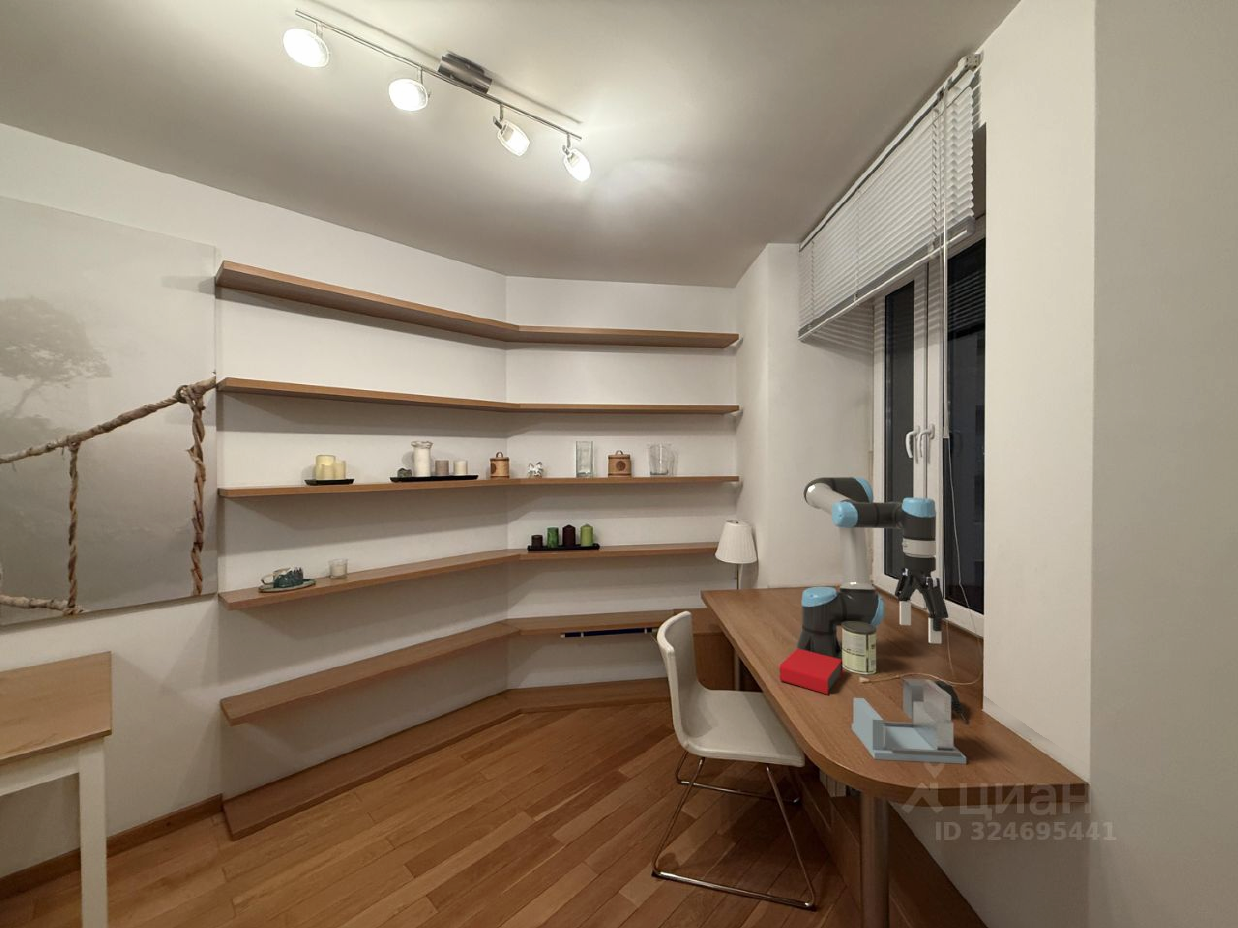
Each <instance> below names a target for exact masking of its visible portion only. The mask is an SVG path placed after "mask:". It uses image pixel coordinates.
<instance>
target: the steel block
mask: <svg viewBox="0 0 1238 928" xmlns="http://www.w3.org/2000/svg"><path fill="white" fill-rule="evenodd" d="M902 682H903V683H902V687H903V688H902V691H903V694H902V699H903V700H902V710H903V711H902V712H903V713H904V714H905V715H906V716H908V718H910V720H913V701H914V702H924V678H923V679H920V678H919V679H918V678H903V680H902Z"/></svg>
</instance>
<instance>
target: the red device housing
mask: <svg viewBox="0 0 1238 928" xmlns="http://www.w3.org/2000/svg"><path fill="white" fill-rule="evenodd" d="M843 669H844V667H843V660H842V659H837V658H833V657H829V656H825V655H821V654H817V653H813V652H809V651H805V650H801V649H797V648H795V650H794V651H793V652H792V653H791V654H790V655H789V656H788V657H787V658H786V659H785V660H783V662H781V663H780V665H779V681H781V682H785V683H788V684H791V685H794V686H798V687H801V688H804V689H808V690H811V691H814V692H818V693H821V694H824V695H828V696H829V690H830V689H831V688H832V686H833V685H834V683H835V682H836V681H837V680H840V679H841V677H842V676H843V672H844V671H843Z"/></svg>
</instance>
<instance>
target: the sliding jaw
mask: <svg viewBox="0 0 1238 928" xmlns="http://www.w3.org/2000/svg"><path fill="white" fill-rule="evenodd" d="M923 679H924V678H923ZM934 682H935V681H932V680H931V679H924V702H914V701H913V719H912V721H913V722H912V723H913V727H914V728H915V729H916V730H917V731H918V732H919V733H920V734H921V735H922V736H923V737H924V738H925V739H926V740H927V741H928V742H929V743H930V744H931V745H932V746H933V747H934V748H935V749H936V750H942V751H953V746H954V723H953V722H952V706H951V695H949V694H948V693H947V692H945V691H944V690H943V689H941V688H940V687H939V686H937V685H936V684H935V683H934Z"/></svg>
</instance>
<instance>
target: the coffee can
mask: <svg viewBox="0 0 1238 928" xmlns="http://www.w3.org/2000/svg"><path fill="white" fill-rule="evenodd" d="M876 632H877V627H874V626H873V625H871V624H868V623H864V622H859V621H845V622H843V623H842V626H841V649H842V659H841V660H843V669H845V670H846V671H849V672H851V673H854V674H859V675H873V674H875V673H876V672H877V642H876V641H877V640H876V639H877V634H876Z"/></svg>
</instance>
